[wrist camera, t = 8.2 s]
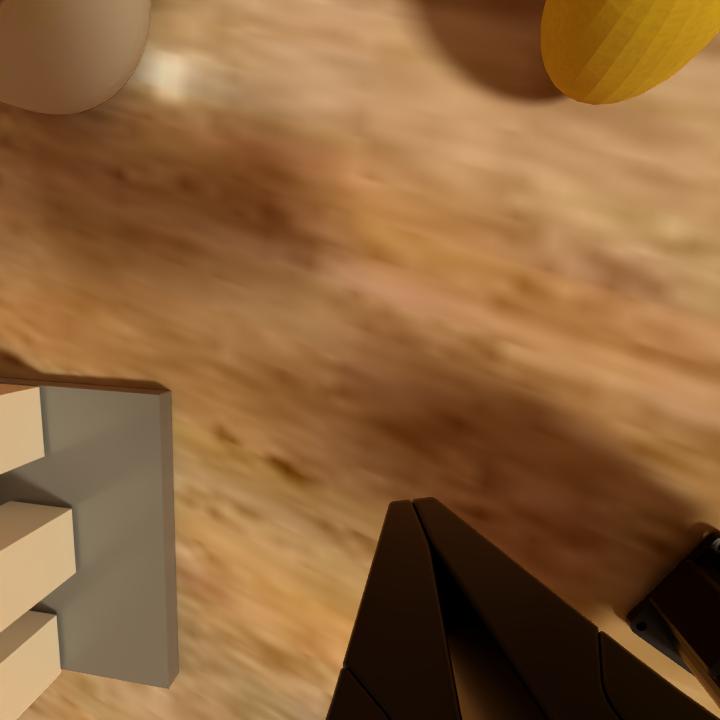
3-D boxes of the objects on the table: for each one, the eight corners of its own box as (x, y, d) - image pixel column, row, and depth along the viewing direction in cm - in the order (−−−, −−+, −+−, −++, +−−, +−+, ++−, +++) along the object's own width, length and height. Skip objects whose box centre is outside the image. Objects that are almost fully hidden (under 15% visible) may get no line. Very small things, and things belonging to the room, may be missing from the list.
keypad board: (170, 390, 21) (124, 407, 18) (178, 673, 24) (139, 734, 21) (-31, 375, 23) (-109, 387, 20) (-4, 640, 26) (-68, 692, 22)
